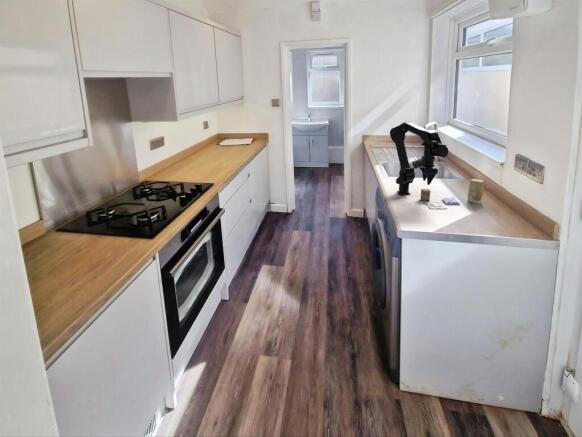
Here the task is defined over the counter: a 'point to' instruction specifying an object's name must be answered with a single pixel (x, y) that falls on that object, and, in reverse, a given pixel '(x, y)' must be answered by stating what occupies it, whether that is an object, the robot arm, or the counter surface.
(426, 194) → the stamp
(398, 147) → the robot arm
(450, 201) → the tray
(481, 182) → the skincare box
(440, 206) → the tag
